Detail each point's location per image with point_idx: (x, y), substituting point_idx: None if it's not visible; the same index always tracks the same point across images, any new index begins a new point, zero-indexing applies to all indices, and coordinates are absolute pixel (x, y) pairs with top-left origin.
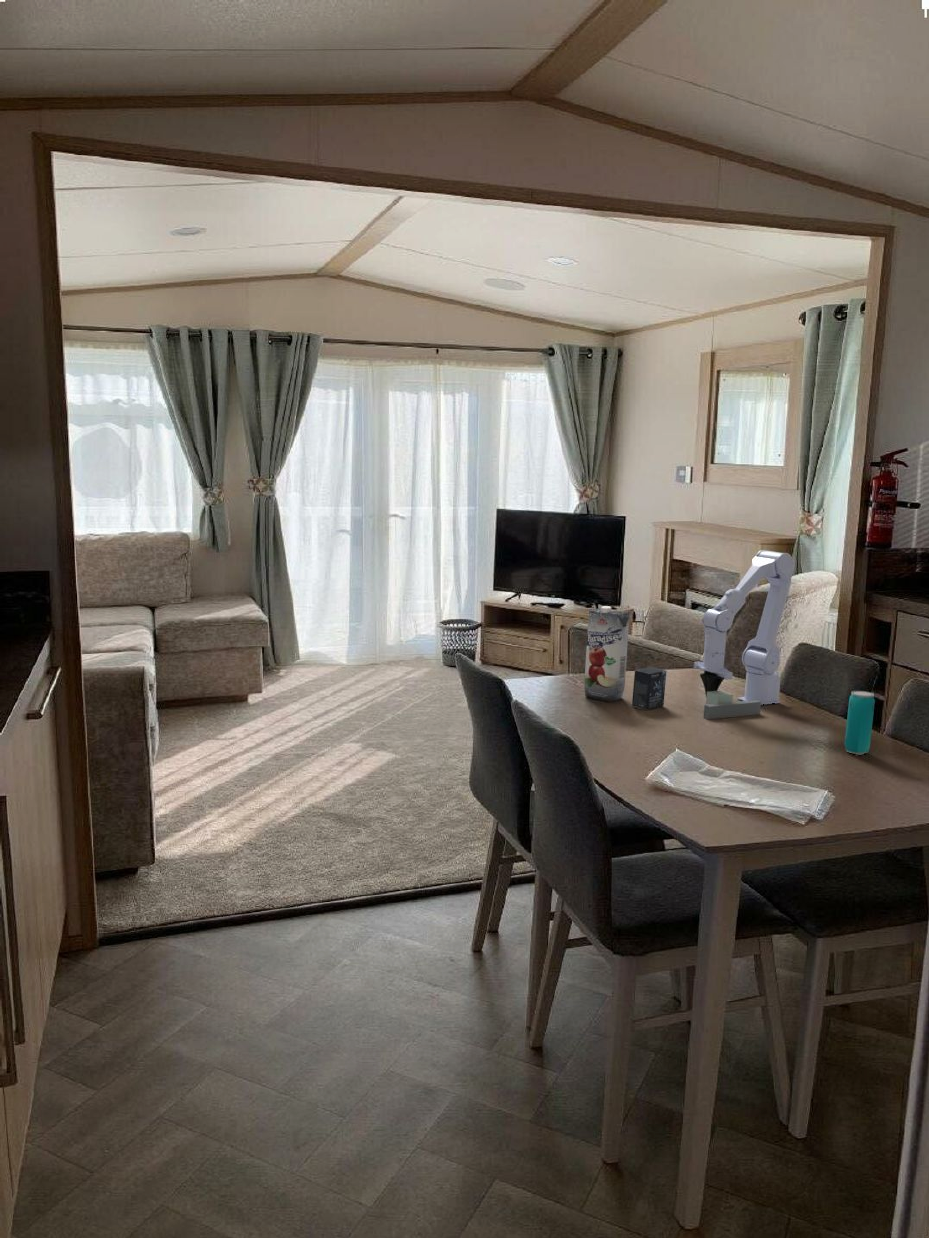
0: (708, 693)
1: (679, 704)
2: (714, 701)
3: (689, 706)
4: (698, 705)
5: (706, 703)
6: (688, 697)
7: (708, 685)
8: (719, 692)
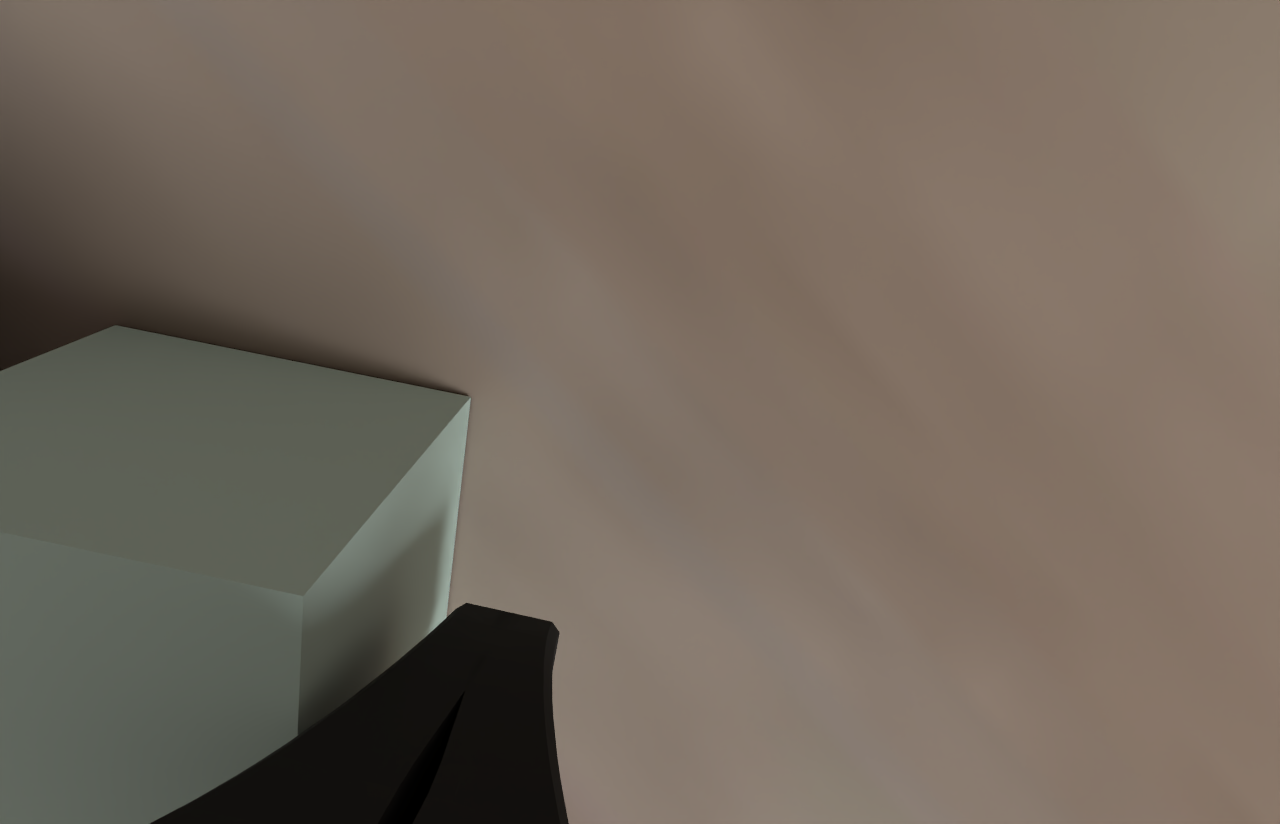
0: (244, 555)
1: (1048, 180)
2: (66, 425)
3: (789, 253)
4: (743, 492)
5: (418, 440)
6: (1275, 802)
7: (256, 822)
8: (108, 812)
